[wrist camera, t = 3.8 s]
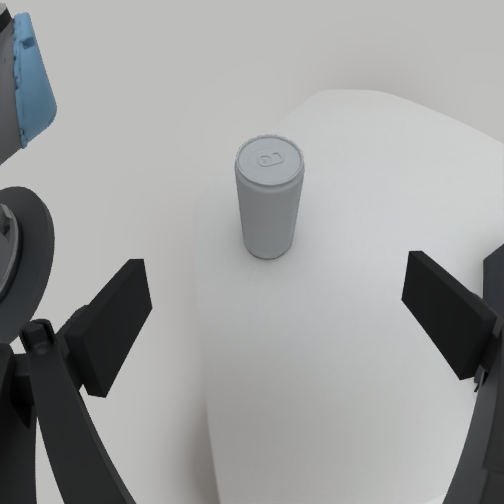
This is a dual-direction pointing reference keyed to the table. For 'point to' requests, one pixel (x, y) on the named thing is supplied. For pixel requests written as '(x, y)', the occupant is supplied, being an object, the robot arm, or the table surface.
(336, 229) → the table surface
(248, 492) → the table surface
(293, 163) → the beverage can
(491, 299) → the trash bin
